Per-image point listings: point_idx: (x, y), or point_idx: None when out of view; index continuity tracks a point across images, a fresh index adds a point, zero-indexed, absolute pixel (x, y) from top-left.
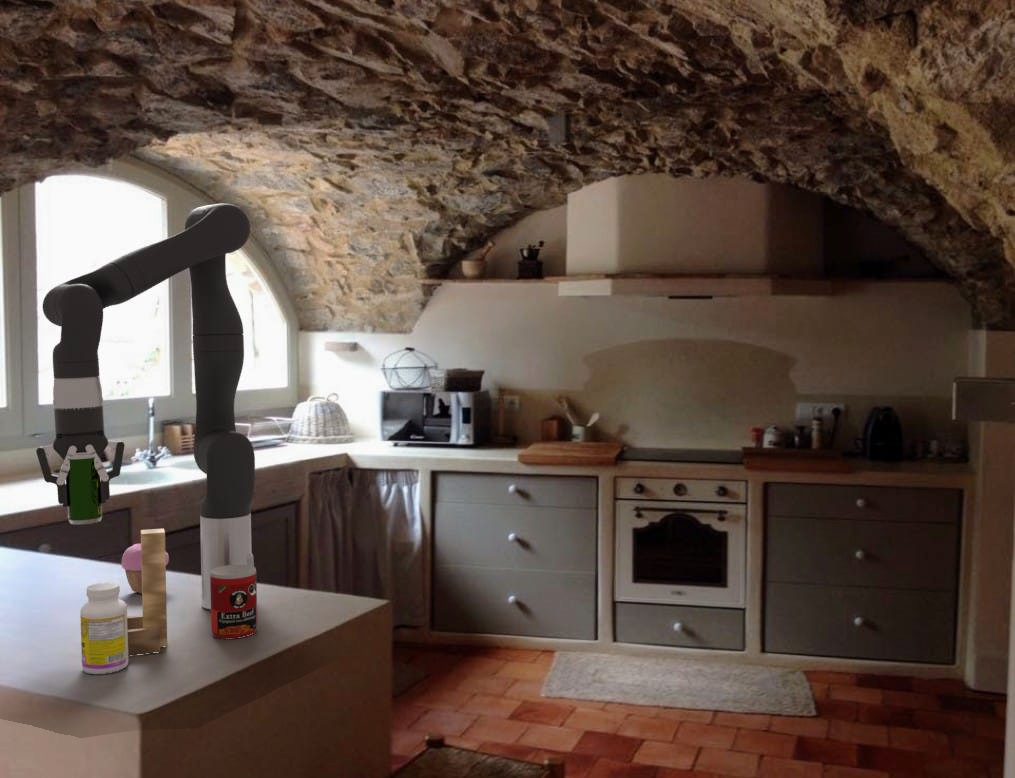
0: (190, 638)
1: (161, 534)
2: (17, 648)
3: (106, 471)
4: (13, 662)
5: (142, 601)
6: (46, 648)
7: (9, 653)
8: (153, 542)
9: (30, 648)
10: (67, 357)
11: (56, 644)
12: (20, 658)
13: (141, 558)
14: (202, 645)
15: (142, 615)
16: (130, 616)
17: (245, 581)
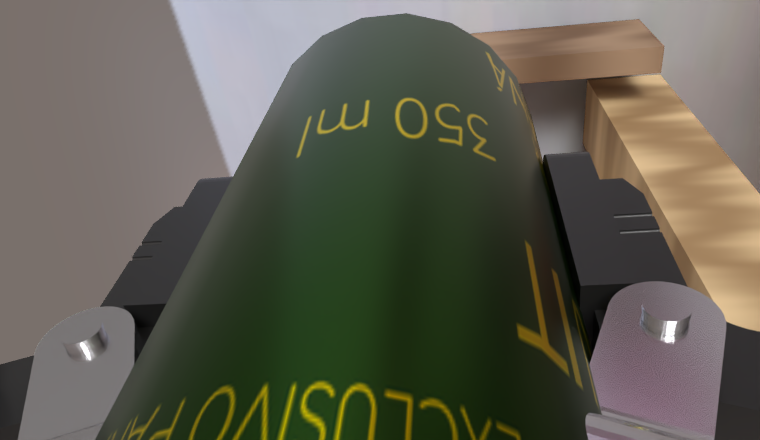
0: (739, 71)
1: None
2: (200, 11)
3: (718, 384)
4: (233, 146)
5: (621, 159)
6: (293, 40)
7: (193, 58)
8: None
9: (242, 24)
10: None
11: (316, 3)
12: (241, 117)
13: (676, 257)
14: (751, 153)
15: (611, 60)
16: (568, 58)
17: None
